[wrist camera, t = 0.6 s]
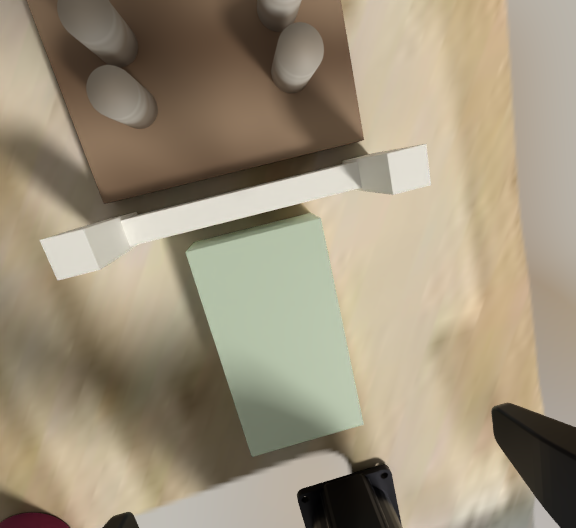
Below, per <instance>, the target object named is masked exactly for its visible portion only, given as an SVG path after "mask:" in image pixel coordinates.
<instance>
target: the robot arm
mask: <svg viewBox="0 0 576 528" xmlns="http://www.w3.org/2000/svg"><path fill="white" fill-rule="evenodd" d="M492 422H493V431H494V436H495V439H496V441H497V443H498V445H499V446H500V448H501V449H502V450H503V452H504V453H505V455H506V456H507V457H508V459H509V460H510V462H511V463H512V464H513V466H514V467H515V469H516V470H517V471H518V473H519V474H520V476H521V477H522V478H523V480H524V481H525V483H526V484H527V485H528V487H529V488H530V490H531V491H532V492H533V494H534V495H535V496H536V498H537V499H538V500H539V502H540V503H541V504H542V506H543V507H544V508H545V510H546V511H547V512H548V513H549V514H550V516H551V517H552V518H553V519H554V520H555V522H556V523H557V524H558V525H559V526H560V528H576V427H573V426H571V425H568V424H565V423H563V422H560V421H557V420H554V419H552V418H549V417H546V416H544V415H541V414H538V413H536V412H533V411H530V410H528V409H525V408H522V407H520V406H517V405H514V404H511V403H504V404H500V405H497V406H494V407H493V408H492ZM382 473H383V474H382ZM305 496H306V497H305ZM297 498H298V503H299V506H300V510H301V513H302V517H303V520H304V523H305V527H306V528H402V525H401V520H400V515H399V510H398V504H397V499H396V494H395V489H394V484H393V479H392V474H391V471H390V469H389V467H388V466H387V465H379V466H376V467H373V468H369V469H366V470H363V471H359V472H356V473H353V474H349V475H346V476H343V477H339V478H336V479H333V480H330V481H326V482H323V483H319V484H316V485H313V486H309V487H306V488H303V489H301V490H299V492H298V494H297ZM103 528H139V527H138V524H137V522H136V520H135V517H134V515H133V514H132V513H131V512H126V513H122V514H119V515H115V516H113V517H112V518H111V519H110V520H109V521H108V522H107V523H106V524H105V525H104V527H103Z"/></svg>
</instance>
